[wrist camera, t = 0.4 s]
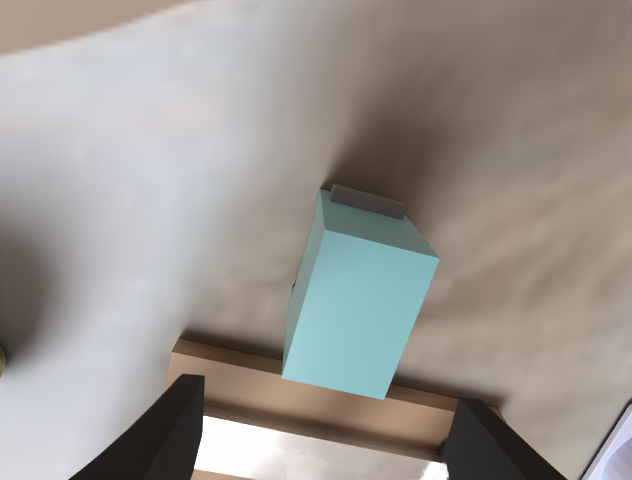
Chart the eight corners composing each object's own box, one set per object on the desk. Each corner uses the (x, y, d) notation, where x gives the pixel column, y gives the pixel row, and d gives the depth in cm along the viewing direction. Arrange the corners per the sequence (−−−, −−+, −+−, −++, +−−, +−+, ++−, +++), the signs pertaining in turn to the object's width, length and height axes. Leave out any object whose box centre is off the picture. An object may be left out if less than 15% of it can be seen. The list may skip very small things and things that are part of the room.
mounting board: (497, 407, 24) (506, 423, 22) (440, 518, 26) (446, 537, 25) (178, 338, 22) (171, 351, 21) (154, 466, 24) (147, 484, 23)
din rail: (482, 450, 23) (496, 479, 21) (451, 511, 25) (461, 542, 23) (175, 387, 21) (163, 413, 20) (161, 457, 23) (149, 487, 21)
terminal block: (405, 198, 19) (446, 242, 14) (363, 319, 21) (383, 400, 16) (323, 176, 19) (329, 212, 13) (288, 301, 21) (281, 378, 15)
